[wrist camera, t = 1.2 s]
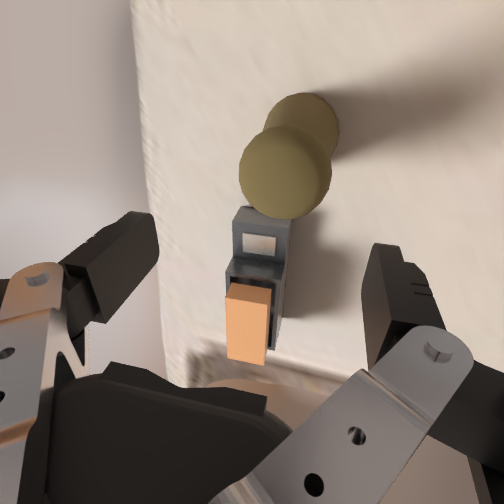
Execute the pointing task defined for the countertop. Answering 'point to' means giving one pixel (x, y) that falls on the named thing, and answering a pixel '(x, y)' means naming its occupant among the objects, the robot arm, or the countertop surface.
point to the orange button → (247, 322)
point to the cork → (290, 158)
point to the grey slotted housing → (261, 259)
